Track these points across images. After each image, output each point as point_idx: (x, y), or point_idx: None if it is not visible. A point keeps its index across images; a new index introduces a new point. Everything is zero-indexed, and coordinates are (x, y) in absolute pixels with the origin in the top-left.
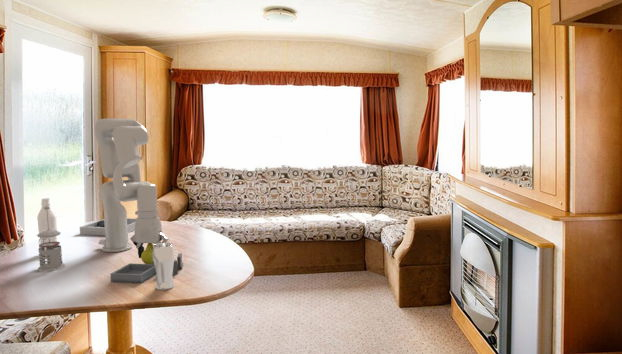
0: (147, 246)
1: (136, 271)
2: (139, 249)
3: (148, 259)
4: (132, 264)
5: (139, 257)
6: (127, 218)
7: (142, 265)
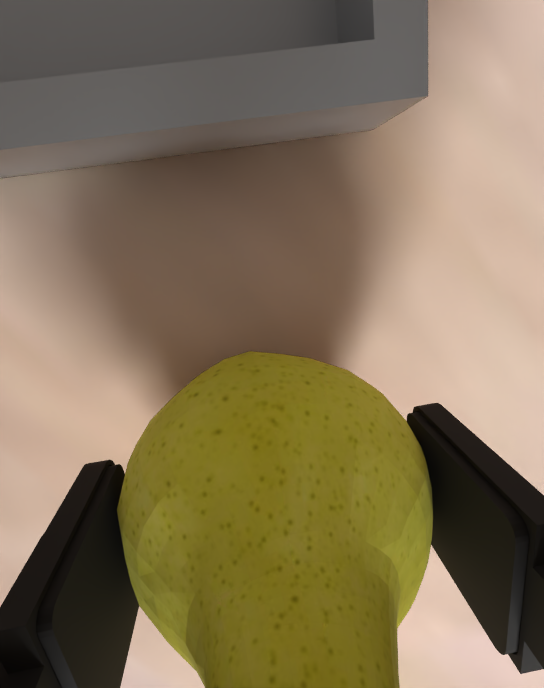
0: (338, 668)
1: (188, 15)
2: (522, 513)
3: (205, 376)
4: (332, 47)
5: (426, 407)
6: None
7: (99, 74)
